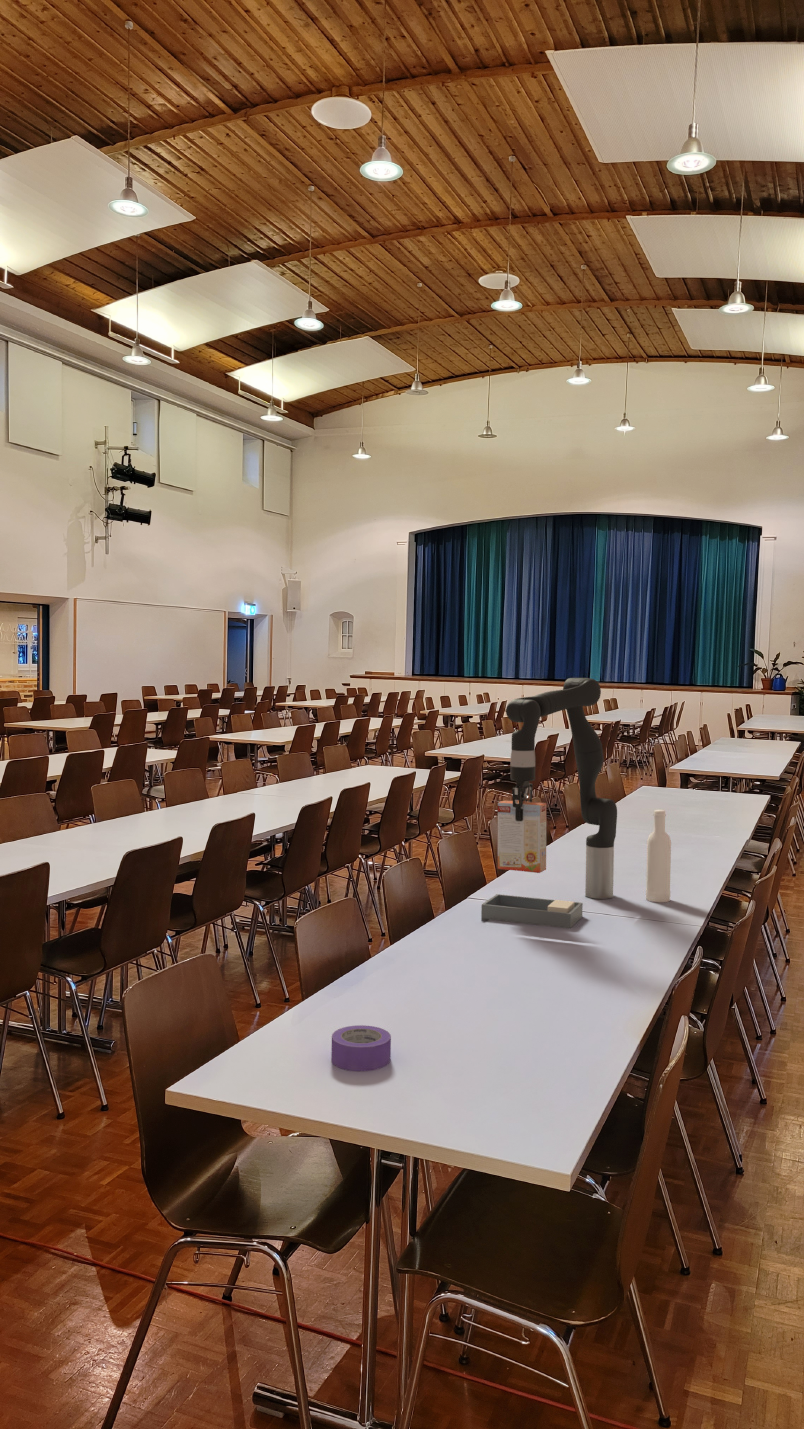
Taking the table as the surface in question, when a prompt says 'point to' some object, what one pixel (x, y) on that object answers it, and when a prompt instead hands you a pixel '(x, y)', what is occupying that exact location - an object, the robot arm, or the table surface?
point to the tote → (528, 911)
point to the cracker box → (522, 837)
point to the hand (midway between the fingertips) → (522, 819)
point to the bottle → (658, 861)
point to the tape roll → (361, 1048)
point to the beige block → (561, 906)
